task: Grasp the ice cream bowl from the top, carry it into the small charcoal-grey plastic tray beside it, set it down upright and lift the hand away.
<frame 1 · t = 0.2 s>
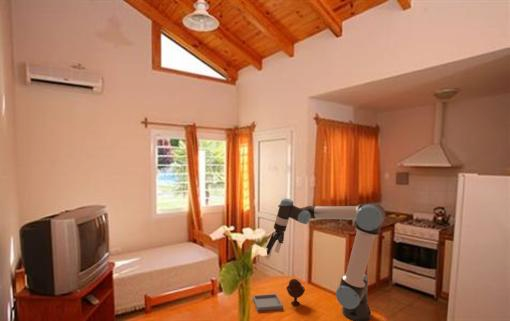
hand: (272, 255, 170), 28 cm above the table, tool tilted 15°, fingers open, 13 cm apart
tray: (267, 304, 163), on the table
ice cream bowl: (295, 304, 164), on the table
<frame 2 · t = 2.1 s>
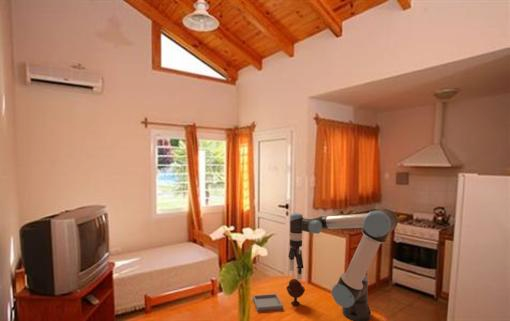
hand: (295, 274, 165), 17 cm above the table, tool pointing down, fingers open, 13 cm apart
nothing on the table moved.
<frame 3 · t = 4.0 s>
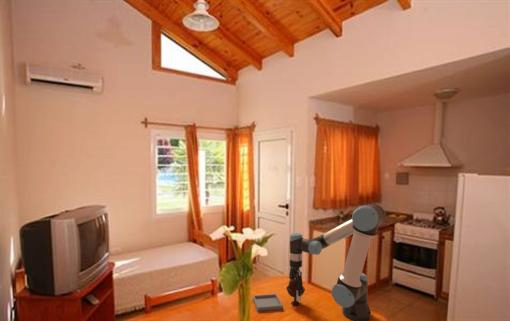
hand: (295, 296, 164), 5 cm above the table, tool pointing down, fingers closed on ice cream bowl, 11 cm apart
ice cream bowl: (295, 304, 164), on the table, touching gripper
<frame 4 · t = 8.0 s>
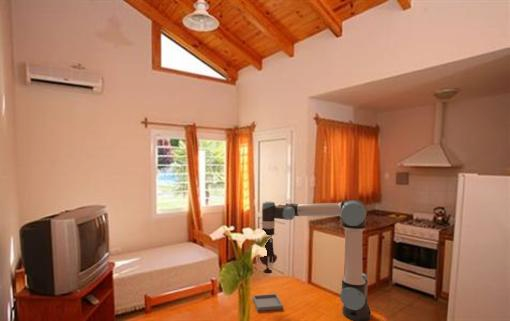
hand: (267, 264, 164), 24 cm above the table, tool pointing down, fingers closed on ice cream bowl, 11 cm apart
ice cream bowl: (267, 272, 164), point 19 cm above the table, touching gripper
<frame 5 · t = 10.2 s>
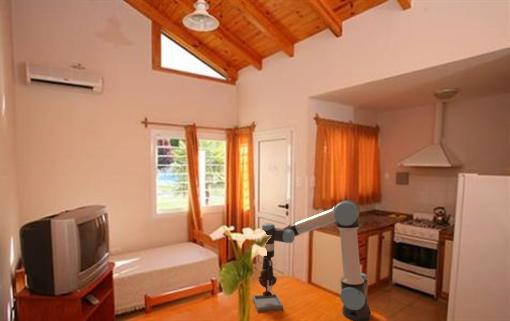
hand: (267, 286, 164), 11 cm above the table, tool pointing down, fingers closed on ice cream bowl, 11 cm apart
ice cream bowl: (267, 294, 163), point 6 cm above the table, touching gripper
when the fingers open (7 cm above the table, at t = 12.1 s): ice cream bowl drops 1 cm, resting on tray.
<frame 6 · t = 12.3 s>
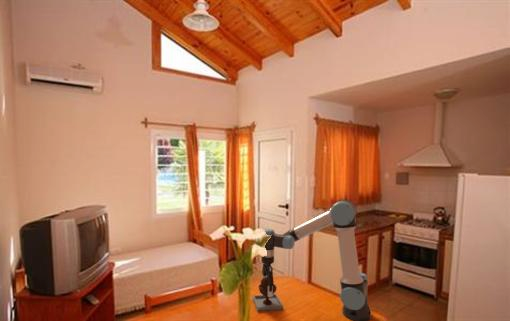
hand: (267, 291, 163), 8 cm above the table, tool pointing down, fingers open, 13 cm apart
ice cream bowl: (267, 303, 163), point 1 cm above the table, touching tray
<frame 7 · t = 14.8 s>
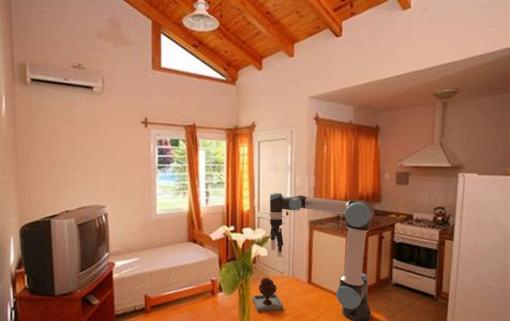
hand: (276, 253, 167), 29 cm above the table, tool pointing down, fingers open, 13 cm apart
nothing on the table moved.
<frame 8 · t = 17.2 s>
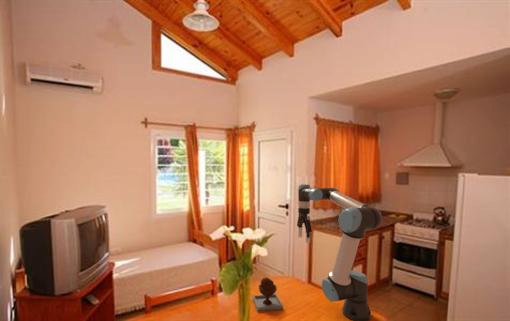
hand: (303, 239, 180), 35 cm above the table, tool pointing down, fingers open, 13 cm apart
nothing on the table moved.
at the end: ice cream bowl 0.1 cm off-centre on the tray, point 0.8 cm above the tray's base; ice cream bowl tilted 0°; the gripper is holding nothing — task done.
